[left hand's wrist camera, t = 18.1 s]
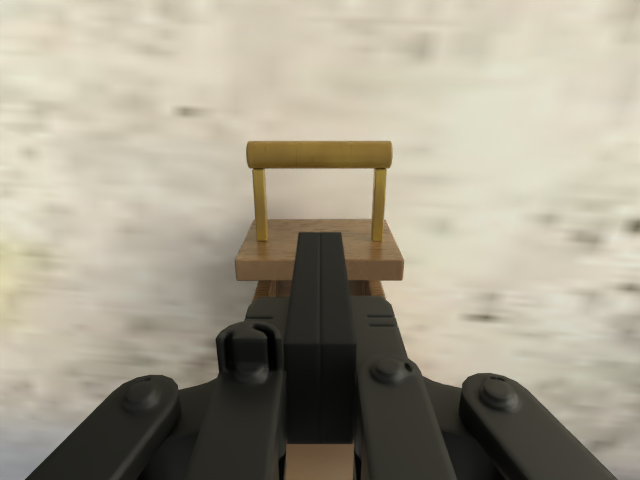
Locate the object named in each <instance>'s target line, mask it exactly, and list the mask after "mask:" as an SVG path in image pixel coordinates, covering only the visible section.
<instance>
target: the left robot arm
mask: <svg viewBox="0 0 640 480" xmlns="http://www.w3.org/2000/svg"><path fill="white" fill-rule="evenodd" d="M216 347H217V356H218V365H219V374H218V377H217V378H216V379H214V380H212V381H210V382H208V383H205V384H201V385H198V386H194V387H190V388H185V389H181V390H178V385H177V384H176V383H175V382H174V380H173V379H171V378H169V377H166V376H163V375H147V376H142V377H138V378H135V379H133V380H131V381H128V382H126V383H124V384H122V385H121V386H120V387H119V388H117V389H116V390H115V391H113V392H112V393H111V394H110V395H109V396H108V397H107V398H106V399H105V400H104V401H103V402H102V403H101V404H100V405H99V406H98V407H97V408H96V409H95V410H94V411H93V412H92V413H91V414H90V415H89V416H88V417H87V418H86V419H85V420H84V421H83V422H82V423H81V424H80V425H79V426H78V427H77V428H76V429H75V430H74V431H73V432H72V433H71V434H70V435H69V436H68V437H67V438H66V439H65V440H64V441H63V442H62V443H61V444H60V445H59V446H58V447H57V448H56V449H55V450H54V451H53V452H52V453H51V454H50V455H49V456H48V457H47V458H46V459H45V460H44V461H43V462H42V463H41V464H40V465H39V466H38V467H37V468H36V469H35V470H34V471H33V472H32V473H31V474H30V475H29V476H28V477H27V478H26V479H25V480H286V468H287V461H286V443H287V444H353V441H354V461H353V480H618V479H617V478H616V477H615V476H614V475H613V474H612V473H611V472H610V471H609V470H608V469H607V468H606V467H605V466H604V465H603V464H602V463H601V462H600V461H599V460H598V459H597V458H596V457H595V456H594V455H593V454H591V453H590V452H589V451H588V450H587V449H586V448H585V447H584V446H583V445H582V444H581V443H580V442H579V441H578V440H577V439H576V438H575V437H574V436H573V435H572V434H571V433H570V432H569V431H568V430H567V429H566V428H565V427H564V426H563V425H562V424H561V423H560V422H559V421H558V420H557V419H556V418H555V417H554V416H553V415H552V414H551V413H550V412H549V411H548V410H547V409H546V408H545V407H544V406H543V405H542V404H541V403H540V402H539V401H538V400H537V399H536V398H535V397H534V396H533V395H532V394H531V393H530V392H529V391H528V390H527V389H526V388H524V387H523V386H522V385H520V384H519V383H518V382H516V381H514V380H511V379H509V378H507V377H505V376H501V375H497V374H492V373H478V374H475V375H472V376H470V377H468V378H467V379H466V380H465V381H464V382H463V384H462V388H458V387H453V386H449V385H445V384H441V383H438V382H434V381H432V380H430V379H428V378H425V377H424V376H422V374H421V371H420V370H419V368H418V367H417V365H416V364H415V363H414V362H412V361H411V360H410V359H408V357H407V354H406V350H405V347H404V344H403V341H402V338H401V334H400V331H399V328H398V327H397V322H396V318H395V315H394V312H393V309H392V306H391V304H390V303H389V302H388V301H387V300H385V299H384V298H383V297H382V296H350V292H349V284H348V277H347V270H346V263H345V255H344V248H343V241H342V233H341V232H299V233H298V241H297V248H296V255H295V262H294V270H293V277H292V284H291V292H290V297H258V298H257V299H256V300H255V301H254V302H253V303H252V304H251V305H250V306H249V307H248V310H247V314H246V319H245V320H244V322H239V323H236V324H233V325H230V326H228V327H227V328H225V329H224V330H222V331H221V332H220V333H219V335H218V336H217V337H216Z"/></svg>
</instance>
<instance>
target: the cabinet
mask: <svg viewBox="0 0 640 480" xmlns="http://www.w3.org/2000/svg"><path fill="white" fill-rule="evenodd" d="M286 461H287V468H286V480H353V461H354V441H353V444H287V443H286Z"/></svg>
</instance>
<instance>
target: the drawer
mask: <svg viewBox="0 0 640 480" xmlns="http://www.w3.org/2000/svg"><path fill="white" fill-rule="evenodd" d="M392 155H393V150H392V143H391V142H390V141H249V142H248V143H247V148H246V157H247V164H248V167H249V168H250V169H253V170H252V171H253V188H254V205H255V220H254V221H253V223H252V225H251V227H250V229H249V231H248V233H247V236H246V238H245V240H244V242H243V244H242V246H241V249H240V251H239V253H238V255H237V257H236V259H235V269H236V279H237V280H238V281H258V284H257V288H256V291H255V294H254V298H253V301H252V303H253V302H254V301H255V300H256V299H257V298H258V297H290V292H291V284H292V277H293V270H294V262H295V255H296V248H297V241H298V233H299V232H341V233H342V241H343V248H344V255H345V263H346V270H347V277H348V284H349V292H350V296H382V297H383V298H384V299H385V300H386V298H385V294H384V291H383V288H382V284H381V281H380V280H402V279H403V269H404V259H403V257H402V255H401V253H400V250H399V248H398V246H397V244H396V242H395V240H394V237H393V235H392V233H391V231H390V229H389V227H388V224H387V222H386V220H384V206H385V189H386V171H387V170H386V168H390V167H391V164H392ZM284 168H374V182H373V203H372V220H267V203H266V182H265V169H284Z"/></svg>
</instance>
